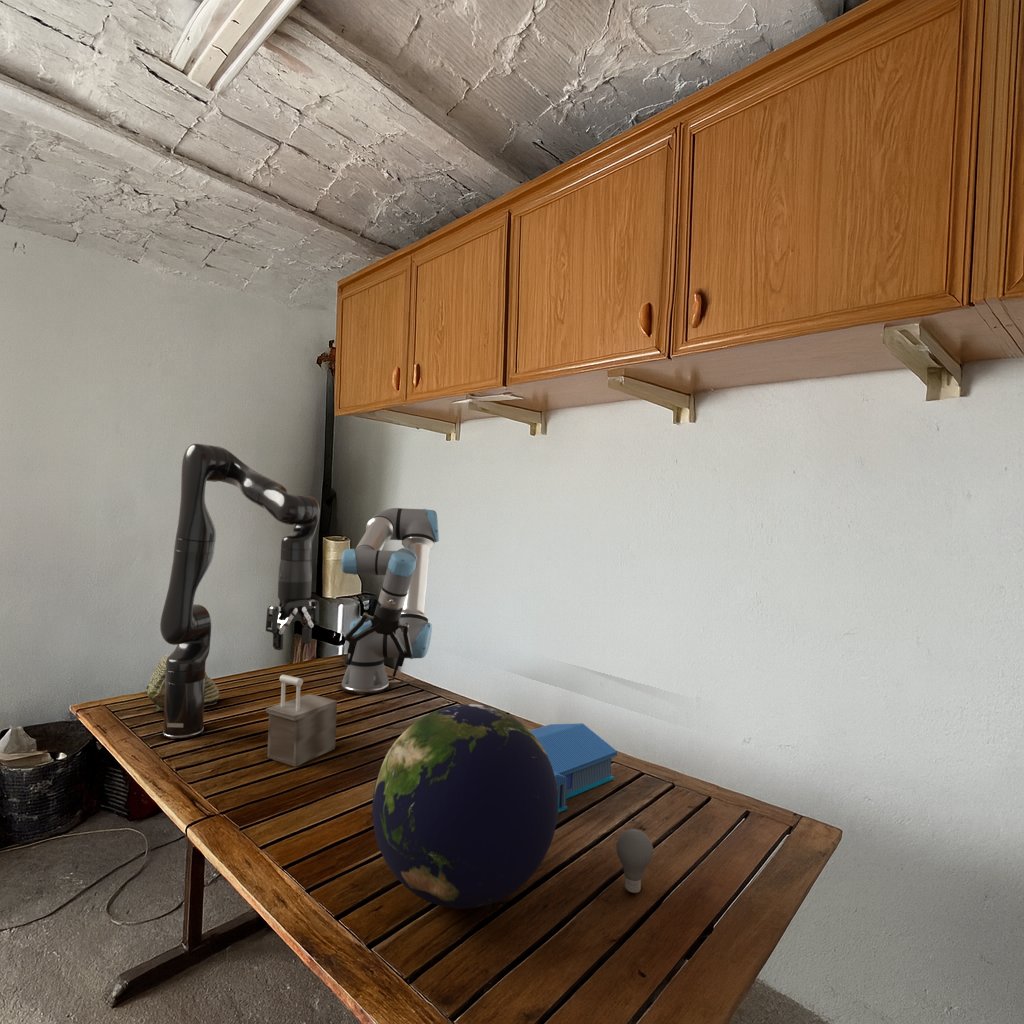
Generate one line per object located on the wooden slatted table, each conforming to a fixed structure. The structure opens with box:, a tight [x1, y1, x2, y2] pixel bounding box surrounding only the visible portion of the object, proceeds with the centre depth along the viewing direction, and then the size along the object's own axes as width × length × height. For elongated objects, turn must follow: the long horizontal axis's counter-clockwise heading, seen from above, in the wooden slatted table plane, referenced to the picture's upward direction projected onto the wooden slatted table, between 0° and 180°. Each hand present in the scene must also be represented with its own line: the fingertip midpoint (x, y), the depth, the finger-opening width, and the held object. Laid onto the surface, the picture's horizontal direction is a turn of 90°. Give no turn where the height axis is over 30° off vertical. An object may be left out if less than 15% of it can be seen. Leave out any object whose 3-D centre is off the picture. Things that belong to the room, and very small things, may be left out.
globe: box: [371, 703, 559, 910], centre depth 103 cm, size 30×30×30 cm
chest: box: [266, 704, 338, 768], centre depth 155 cm, size 13×10×11 cm
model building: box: [529, 722, 618, 814], centre depth 142 cm, size 39×24×10 cm, turn 132°
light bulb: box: [615, 828, 654, 894], centre depth 106 cm, size 6×6×10 cm
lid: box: [265, 674, 338, 721], centre depth 155 cm, size 14×10×9 cm
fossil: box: [147, 654, 221, 712], centre depth 185 cm, size 9×18×15 cm, turn 132°
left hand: (292, 646), depth 151 cm, fingers open, 8 cm apart
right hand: (372, 668), depth 189 cm, fingers open, 13 cm apart
